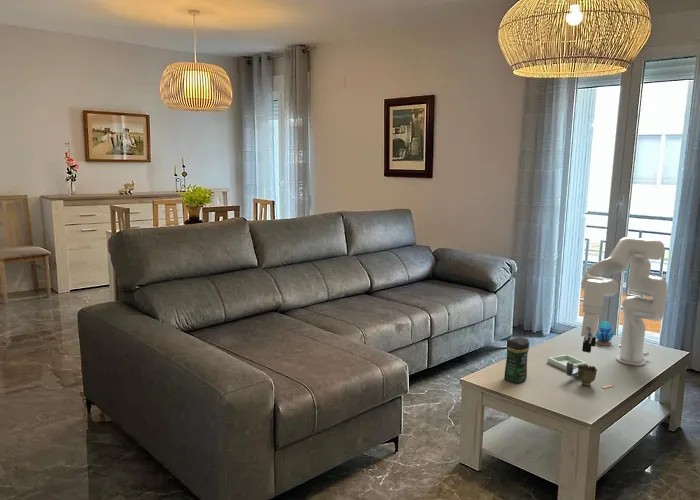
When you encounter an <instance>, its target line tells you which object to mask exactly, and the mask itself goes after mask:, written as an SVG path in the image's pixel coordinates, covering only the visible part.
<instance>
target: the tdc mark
mask: <svg viewBox="0 0 700 500" xmlns="http://www.w3.org/2000/svg"><path fill="white" fill-rule="evenodd" d="M601 388H602V389H609V388H613V385H612V384H610V385H604V386H601Z"/></svg>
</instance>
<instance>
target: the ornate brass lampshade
mask: <svg viewBox="0 0 700 500" xmlns="http://www.w3.org/2000/svg"><path fill="white" fill-rule="evenodd" d="M597 371H598V369H597V368H596V367H595V366H594V365H591V364H590V365H588V364H587V365H585V364H584V365H581V366H580V365H579V366H578V376H579V378H578V379H579V381H580V383H581V385H582V386H584V387H590V386H591V385H592V383H594V381H595V380H596V375H597Z"/></svg>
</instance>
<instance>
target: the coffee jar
mask: <svg viewBox="0 0 700 500" xmlns="http://www.w3.org/2000/svg"><path fill="white" fill-rule="evenodd" d="M506 342H507V343H506V360H505V369H504V376H503V377H504V379H505V380H506V382H507V381H508V382H510V383H515V384H519V383H522V382H525V381H526V380H527V378H528V353H529V351H530V350H529V349H530V341H529V339H528V338H525V337H523V336H518V337H515V338H511V339H508V340H507V341H506Z"/></svg>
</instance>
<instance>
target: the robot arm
mask: <svg viewBox="0 0 700 500" xmlns="http://www.w3.org/2000/svg"><path fill="white" fill-rule="evenodd" d="M664 254H665V244H664V243H663V242H662V241H661V240H656V239H655V240H654V239H648V238H640V237H631V236H630V237H629V236H628V237H627V236H626V237H622V238H620V239H619V241H618V242H617V243H616V246H614V249H612V251H611V252H610V254H609V256H608V258H605V259H603V260H600V261H599V262H596V263H595V264H593V265H591V266H590V267H589V268H588V269H587V271H586V273H585V274H584V275H583V277H582V280H581V285H580V286H581V289H582V290H583V291H584V293H583V301H582V302H583V303H582V313H584V314H583V320H582V325H581V333H580V336H581V337H583V340H582V341H583V342H582V350H581V351H582V352H583V353H584V352H585V353H589V354H590V353H591V352H592V347H596V344H597V343H596V341H597V338H596V334H597V331H599V324H600V320H599V319H600V315H603V306H604V299H605V297H613V296H615V295H617V293H618V291H619V290H620V288H619V287H620V286H619V283H618V281H617V280H616V279H613V278H611V277H610V278H609V277H604V276H605V275H611V274H618V273H622V272H624V271H626V269H628V267H629V273H628V275H629V276H628V287H627V289H628V291H629V292H630V293H632V294H636V295H640V296H641V297H640V296H635V295H629V296H626V297H625V298H623V301H622V329H621V340H620V349H619V350H620V351H619V354H617V355H616V356H615V359H616V361H617V362H619V363H620V364H621V363H622V364H623V365H624V364H625V365H629V366H639V367H641V366H644V365H646V362H647V361H646V359H645V357H649V355H650V353H649V351H644V345H645V335H646V325H645V322H644V320H648V321H654V322H660V321H661V320H662V319H663V318H664V315H665V312H666V303H667V293H668V283H667V281H666V280H665V278H664V277H661V276H656V275H651V269H652V268H651V267H652V266H651V261H650V260H660V259H661V258H662V257H663V255H664ZM642 296H647V297H650V298H651V299H650V298H646V297H642Z"/></svg>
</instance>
